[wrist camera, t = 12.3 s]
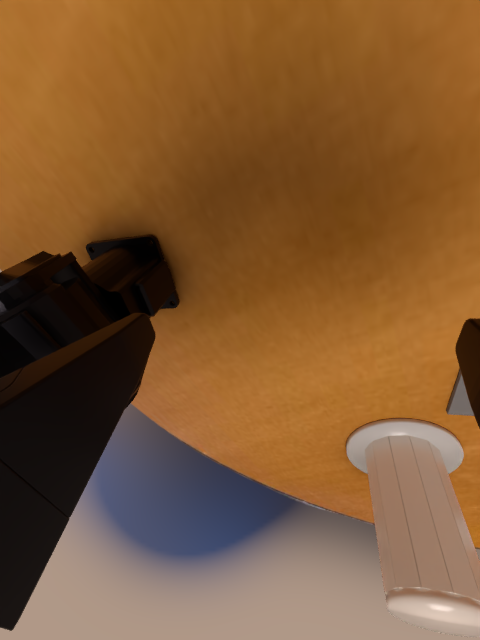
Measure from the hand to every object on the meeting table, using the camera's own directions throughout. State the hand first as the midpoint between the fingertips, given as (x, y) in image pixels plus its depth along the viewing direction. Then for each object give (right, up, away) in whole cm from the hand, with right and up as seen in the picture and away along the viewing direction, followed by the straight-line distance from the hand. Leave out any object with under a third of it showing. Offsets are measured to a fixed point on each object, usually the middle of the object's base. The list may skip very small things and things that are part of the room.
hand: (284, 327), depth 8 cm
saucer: (+16, -14, +22) cm, 31 cm away
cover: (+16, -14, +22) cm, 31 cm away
